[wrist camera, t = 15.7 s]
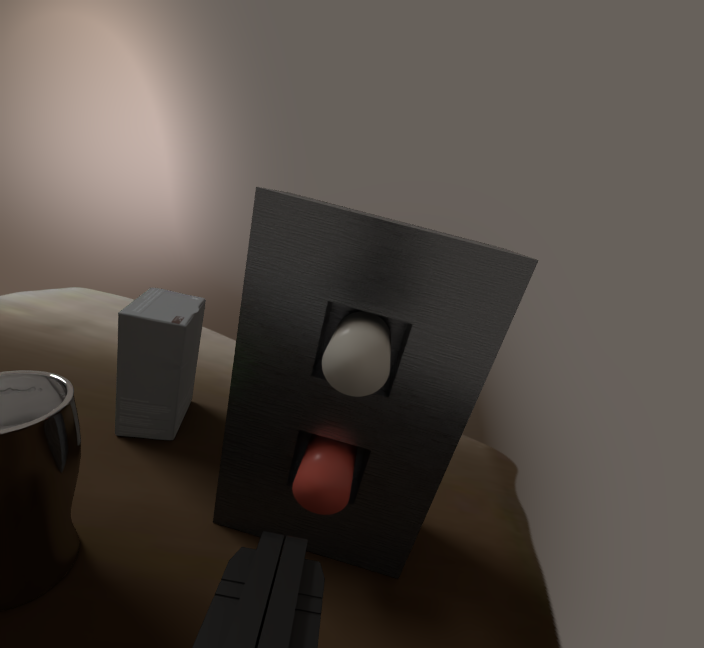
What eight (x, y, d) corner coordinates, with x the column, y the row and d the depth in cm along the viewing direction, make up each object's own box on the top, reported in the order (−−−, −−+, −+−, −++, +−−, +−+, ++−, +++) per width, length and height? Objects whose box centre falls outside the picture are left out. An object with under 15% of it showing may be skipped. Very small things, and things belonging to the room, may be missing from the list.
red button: (342, 521, 26) (355, 478, 24) (288, 505, 26) (298, 461, 24) (350, 473, 30) (362, 435, 29) (304, 459, 30) (313, 421, 29)
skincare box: (142, 395, 44) (145, 284, 39) (199, 401, 46) (208, 295, 41) (110, 439, 37) (107, 308, 31) (179, 444, 38) (188, 320, 33)
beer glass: (64, 607, 23) (46, 438, 18) (-76, 632, 20) (-143, 442, 15) (100, 517, 29) (94, 370, 24) (-5, 527, 26) (-36, 365, 21)
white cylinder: (379, 404, 22) (398, 345, 20) (315, 386, 22) (329, 326, 20) (382, 370, 26) (398, 320, 25) (329, 355, 27) (342, 304, 25)
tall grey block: (398, 578, 30) (538, 260, 20) (212, 522, 31) (256, 186, 21) (397, 513, 37) (503, 248, 27) (244, 467, 38) (289, 192, 27)
